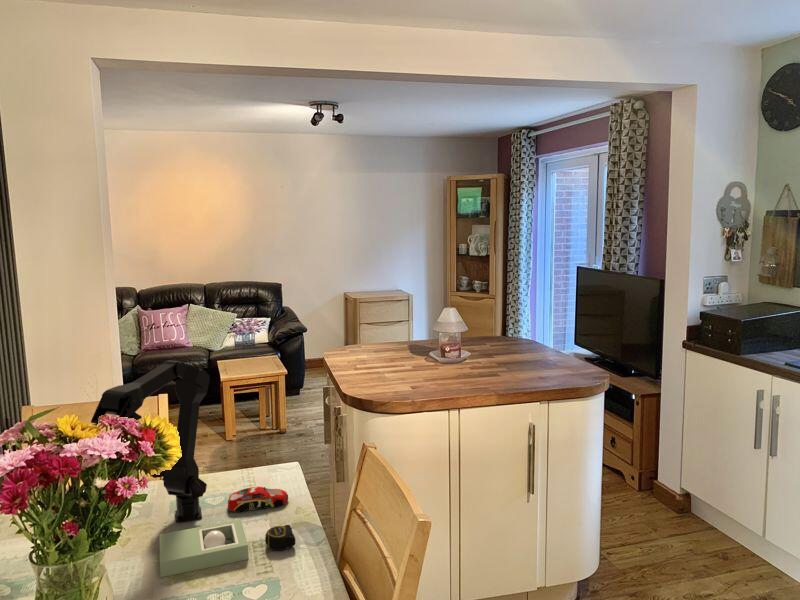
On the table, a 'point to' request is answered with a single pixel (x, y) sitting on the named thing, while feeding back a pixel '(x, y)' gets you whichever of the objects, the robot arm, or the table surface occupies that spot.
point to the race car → (256, 499)
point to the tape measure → (280, 537)
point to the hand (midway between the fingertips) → (126, 507)
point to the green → (201, 548)
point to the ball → (214, 539)
